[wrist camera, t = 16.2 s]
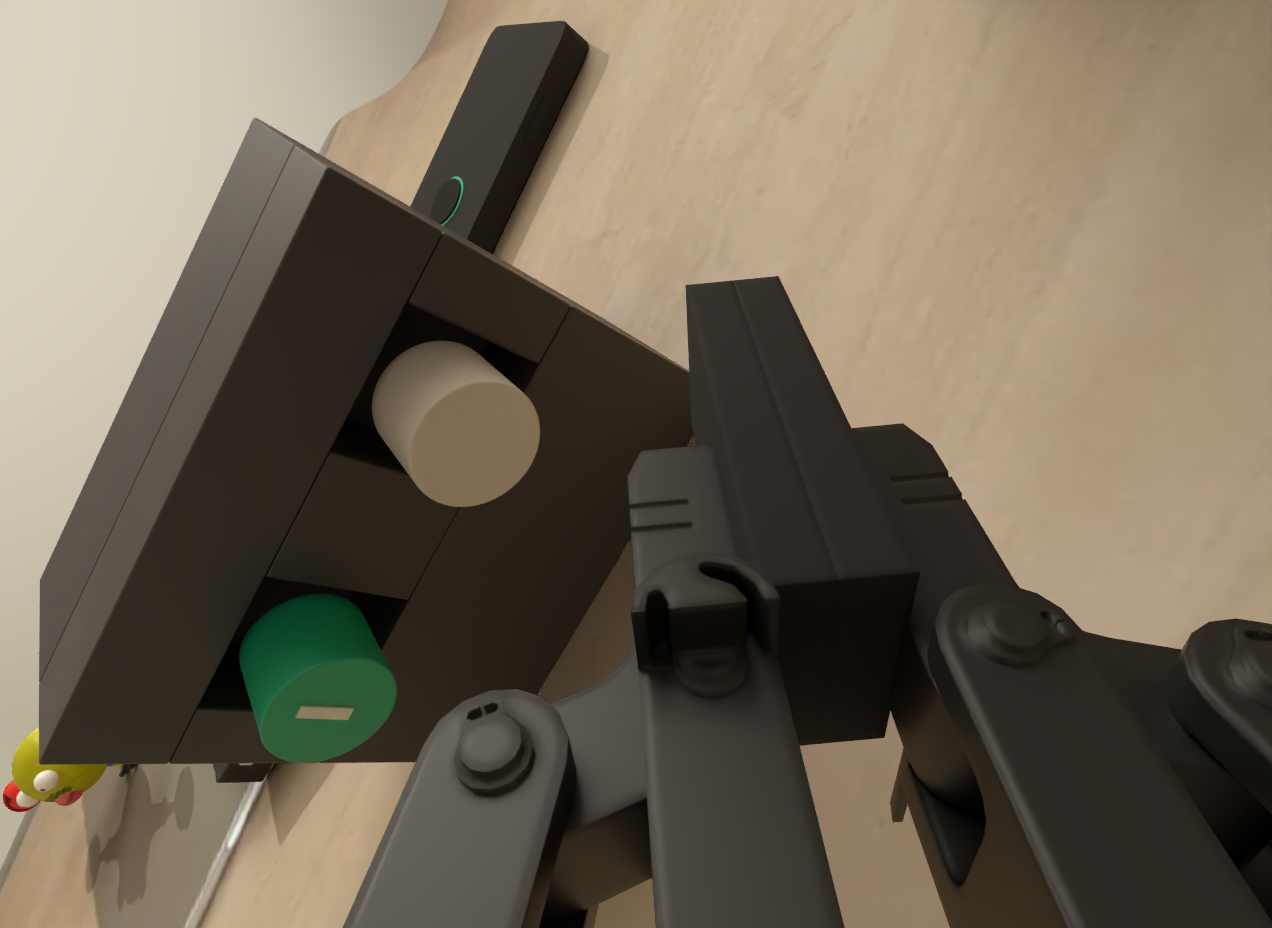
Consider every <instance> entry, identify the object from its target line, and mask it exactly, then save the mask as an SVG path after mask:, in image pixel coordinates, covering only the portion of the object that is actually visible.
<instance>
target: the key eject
mask: <svg viewBox="0 0 1272 928" xmlns="http://www.w3.org/2000/svg"><path fill="white" fill-rule="evenodd" d="M372 416H373V421H374V424H375V427H376V429H377V431H378V433H379V434H380V436H381V437H382V439H383V440H384V442H385V443H386V444H387V446H388V447H389V448H390V450H391V451H392V452H393V454H394V455H395V457H396V458H397V459H398V461H399V462H400V463H401V465H402V466H403V468H404V469H405V470H406V472H407V473H408V474H409V476H410V477H411V478H412V480H413V481H414V483H415V484H416V485H417V487H418V488H419V489H420V490H421V491H422V492H423V493H424V494H425V495H426V496H428V497H429V498H430V499H432V500H434V501H436V502H439V503H441V504H444V505H449V506H454V507H470V506H476V505H480V504H483V503H487V502H489V501H491V500H494V499H496V498H498V497H499V496H501V495H503V494H504V493H506V492H507V491H509V490H510V489H511V488H512V487H513V486H515V485H516V484H517V483H518V482H519V481H520V479H521V478H522V477H523V476H524V475H525V473H526V472H527V470H528V469H529V467H530V466H531V464H532V462H533V460H534V458H535V455H536V453H537V450H538V445H539V440H540V425H539V418H538V415H537V412H536V410H535V408H534V406H533V404H532V402H531V401H530V399H529V398H528V397H527V396H526V395H525V394H524V393H523V392H522V391H521V390H520V389H518V388H517V387H516V386H515V385H514V384H513V383H511V382H510V381H509V380H508V379H507V378H506V377H505V376H503V375H502V374H501V373H500V372H499V371H498V370H496V369H495V368H494V367H493V366H492V365H491V364H490V363H488V362H487V361H486V360H485V359H484V358H483V357H482V356H480V355H479V354H478V353H477V352H475V351H474V350H473V349H471V348H469V347H467V346H465V345H463V344H460V343H456V342H452V341H432V342H426V343H423V344H419V345H416V346H414V347H412V348H410V349H408V350H406V351H405V352H403V353H401V354H400V355H399V356H398V357H396V358H395V359H394V360H393V361H392V362H391V363H390V364H389V365H388V366H387V367H386V369H385V370H384V371H383V373H382V375H381V376H380V378H379V380H378V382H377V384H376V387H375V390H374V394H373V399H372Z"/></svg>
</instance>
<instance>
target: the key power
mask: <svg viewBox="0 0 1272 928" xmlns="http://www.w3.org/2000/svg"><path fill="white" fill-rule="evenodd" d="M239 663H240V667H241V671H242V674H243V678H244V681H245V685H246V688H247V692H248V695H249V699H250V703H251V706H252V710H253V713H254V717H255V720H256V724H257V727H258V731H259V734H260V738H261V741H262V743H263V744H264V746H265V747H266V749H267V750H268V751H269V752H271V753H272V754H273V755H275V756H276V757H278V758H280V759H283V760H286V761H290V762H296V763H310V762H318V761H323V760H327V759H330V758H333V757H336V756H339V755H341V754H344V753H346V752H348V751H350V750H352V749H354V748H355V747H357V746H359V745H360V744H362V743H363V742H364V741H366V740H367V739H369V738H370V737H371V736H372V735H373V734H374V733H375V732H376V731H377V730H378V729H379V728H380V727H381V726H382V725H383V724H384V722H385V721H386V720H387V718H388V717H389V715H390V713H391V711H392V709H393V707H394V704H395V701H396V696H397V684H396V680H395V677H394V675H393V673H392V671H391V669H390V667H389V665H388V663H387V661H386V659H385V657H384V655H383V653H382V651H381V649H380V647H379V645H378V643H377V641H376V639H375V637H374V635H373V633H372V631H371V629H370V627H369V625H368V623H367V621H366V619H365V617H364V615H363V613H362V612H361V610H360V609H359V608H358V607H357V606H356V605H355V604H354V603H352V602H351V601H349V600H347V599H345V598H342V597H340V596H336V595H332V594H310V595H304V596H299V597H296V598H293V599H290V600H287V601H285V602H283V603H281V604H279V605H277V606H275V607H273V608H272V609H270V610H269V611H267V612H266V613H265V614H263V615H262V616H261V617H260V618H259V619H258V620H257V621H256V622H255V623H254V624H253V625H252V626H251V628H250V629H249V630H248V632H247V634H246V635H245V637H244V639H243V642H242V644H241V647H240V651H239Z"/></svg>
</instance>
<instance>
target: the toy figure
mask: <svg viewBox="0 0 1272 928" xmlns="http://www.w3.org/2000/svg"><path fill="white" fill-rule="evenodd" d="M107 766H121V770H120V773H119V776H120V777H123V776H124V775H125V774H126V773H127V770H128V769H133V768H134V766H135V764H71V765H41V764H39V728H37V729H36V730H34V731H33V732H32V733H31V734H30V735H28V736H27V737H26V738H25V740H24V741H23V742H22V743H21V744H20V746H19V748H18V749H17V751H16V753H15V755H14V758H13V763H12V774H13V778H14V780H13V781H11V782H10V783H9V784H8V785H7V787H6V788H5V790H4V793H3V800H4V804H5V805H6V807H8V809H10V810H12V811H16V812H23V811H27V810H29V809H31V808H33V807H34V806H36V805H37V804H38V803H39V802H40V801H45V802H56V803H57V804H59V805H62V806H67V805H70V804H73V803H74V802H75V801H77V800H78V799H79V798H80V797H81V795H82V793H83V792H84V791H86V790H87V789H89V788H90V787H91V786H92V785H94V784H95V783H96V782H97V781H98V780H99V778H100V777H101V776H102V774H103V773H104V771H105V769H106V767H107Z"/></svg>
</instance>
